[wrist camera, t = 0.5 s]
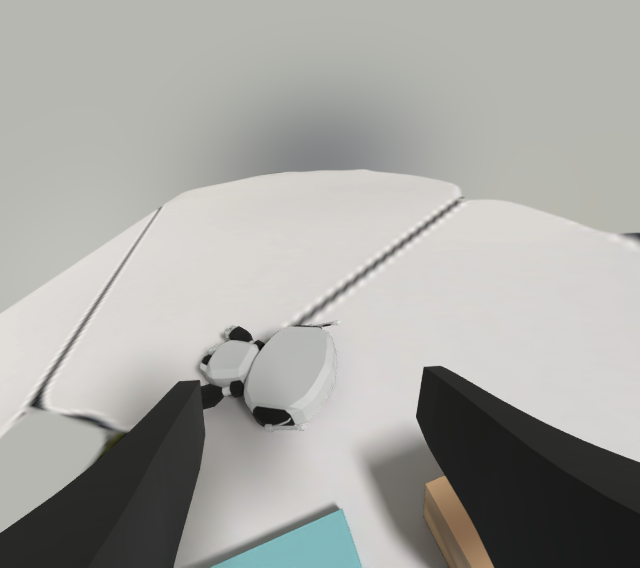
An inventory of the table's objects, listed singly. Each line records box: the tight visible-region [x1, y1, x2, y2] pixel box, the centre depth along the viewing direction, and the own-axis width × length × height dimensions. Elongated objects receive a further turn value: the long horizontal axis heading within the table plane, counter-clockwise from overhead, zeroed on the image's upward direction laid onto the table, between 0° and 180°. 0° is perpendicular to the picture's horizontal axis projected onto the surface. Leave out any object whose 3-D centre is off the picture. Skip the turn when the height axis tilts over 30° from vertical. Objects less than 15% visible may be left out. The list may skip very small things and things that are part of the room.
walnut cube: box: [423, 475, 494, 568], centre depth 20 cm, size 6×6×6 cm
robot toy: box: [200, 320, 341, 432], centre depth 34 cm, size 12×4×15 cm
